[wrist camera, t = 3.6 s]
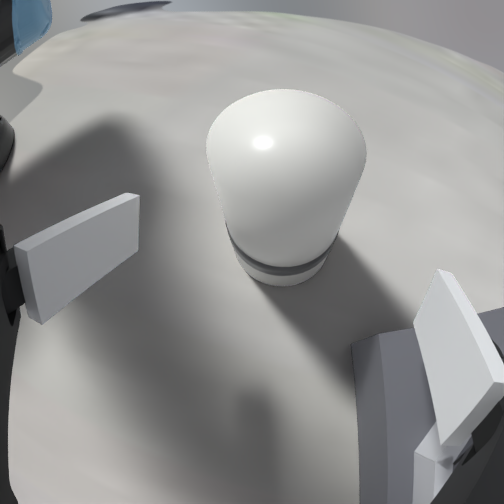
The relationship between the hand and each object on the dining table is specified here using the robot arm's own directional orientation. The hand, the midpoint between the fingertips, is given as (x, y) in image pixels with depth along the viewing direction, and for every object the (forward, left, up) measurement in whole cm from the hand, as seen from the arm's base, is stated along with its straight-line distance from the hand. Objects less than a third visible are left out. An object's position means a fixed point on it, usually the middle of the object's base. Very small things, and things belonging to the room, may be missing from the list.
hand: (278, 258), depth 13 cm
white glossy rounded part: (-5, +1, -9) cm, 11 cm away
